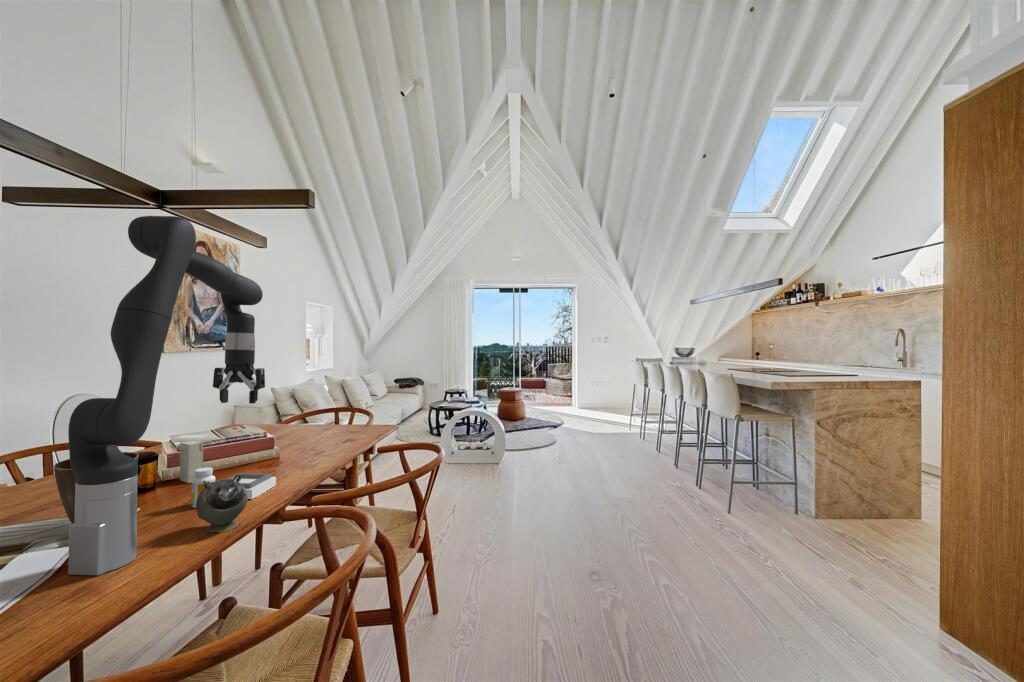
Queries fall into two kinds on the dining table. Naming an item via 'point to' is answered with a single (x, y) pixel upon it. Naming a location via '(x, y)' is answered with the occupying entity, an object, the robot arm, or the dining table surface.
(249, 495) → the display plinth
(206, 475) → the supplement bottle
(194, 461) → the skincare box
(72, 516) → the plant pot
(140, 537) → the dining table surface
